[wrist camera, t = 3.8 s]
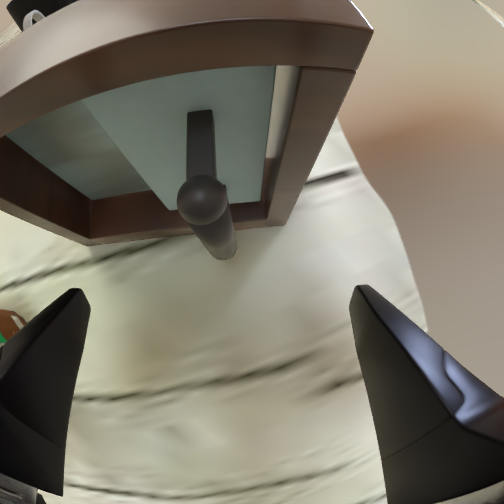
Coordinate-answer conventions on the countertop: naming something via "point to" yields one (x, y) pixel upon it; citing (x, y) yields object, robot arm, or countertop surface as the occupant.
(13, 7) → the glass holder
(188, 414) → the countertop surface
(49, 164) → the window frame
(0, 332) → the food container
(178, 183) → the window sash
